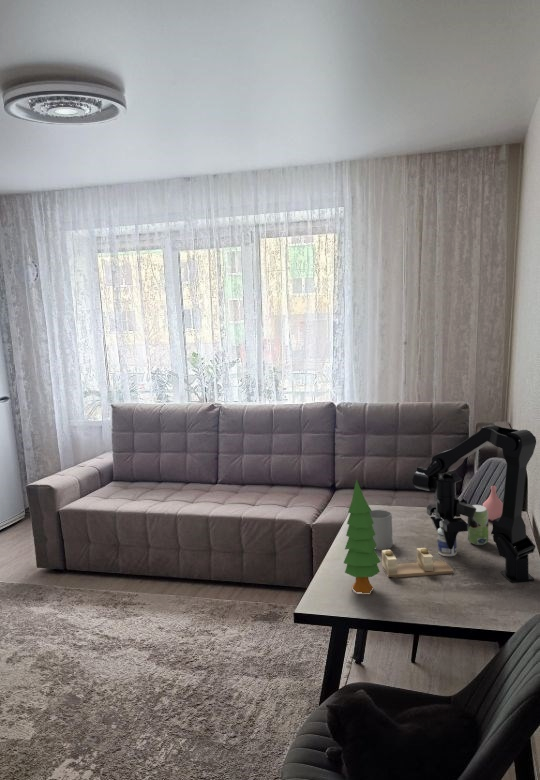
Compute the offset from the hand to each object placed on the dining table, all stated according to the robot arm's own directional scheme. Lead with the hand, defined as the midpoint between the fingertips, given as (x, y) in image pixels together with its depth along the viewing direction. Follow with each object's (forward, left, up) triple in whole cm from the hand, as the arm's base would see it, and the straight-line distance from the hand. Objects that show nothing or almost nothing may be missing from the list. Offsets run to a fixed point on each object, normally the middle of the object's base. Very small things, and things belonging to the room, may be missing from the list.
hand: (447, 545), depth 170 cm
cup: (+11, +18, -3) cm, 21 cm away
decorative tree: (-19, +30, -3) cm, 36 cm away
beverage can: (+6, -12, -3) cm, 14 cm away
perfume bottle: (+26, -26, -3) cm, 37 cm away
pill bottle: (0, 0, -3) cm, 3 cm away
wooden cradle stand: (-10, +12, -2) cm, 17 cm away
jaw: (-11, +10, -1) cm, 15 cm away
